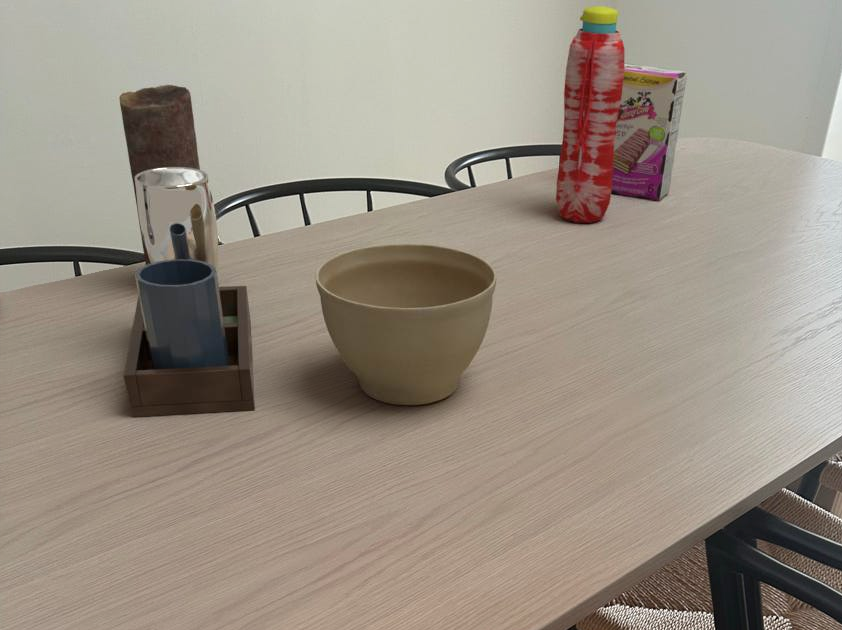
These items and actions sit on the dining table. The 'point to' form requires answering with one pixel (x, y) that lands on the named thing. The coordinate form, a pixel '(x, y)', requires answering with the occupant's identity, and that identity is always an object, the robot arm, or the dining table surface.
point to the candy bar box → (647, 131)
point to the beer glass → (177, 214)
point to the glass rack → (195, 369)
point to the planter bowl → (406, 316)
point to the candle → (159, 131)
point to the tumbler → (182, 314)
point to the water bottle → (590, 117)
